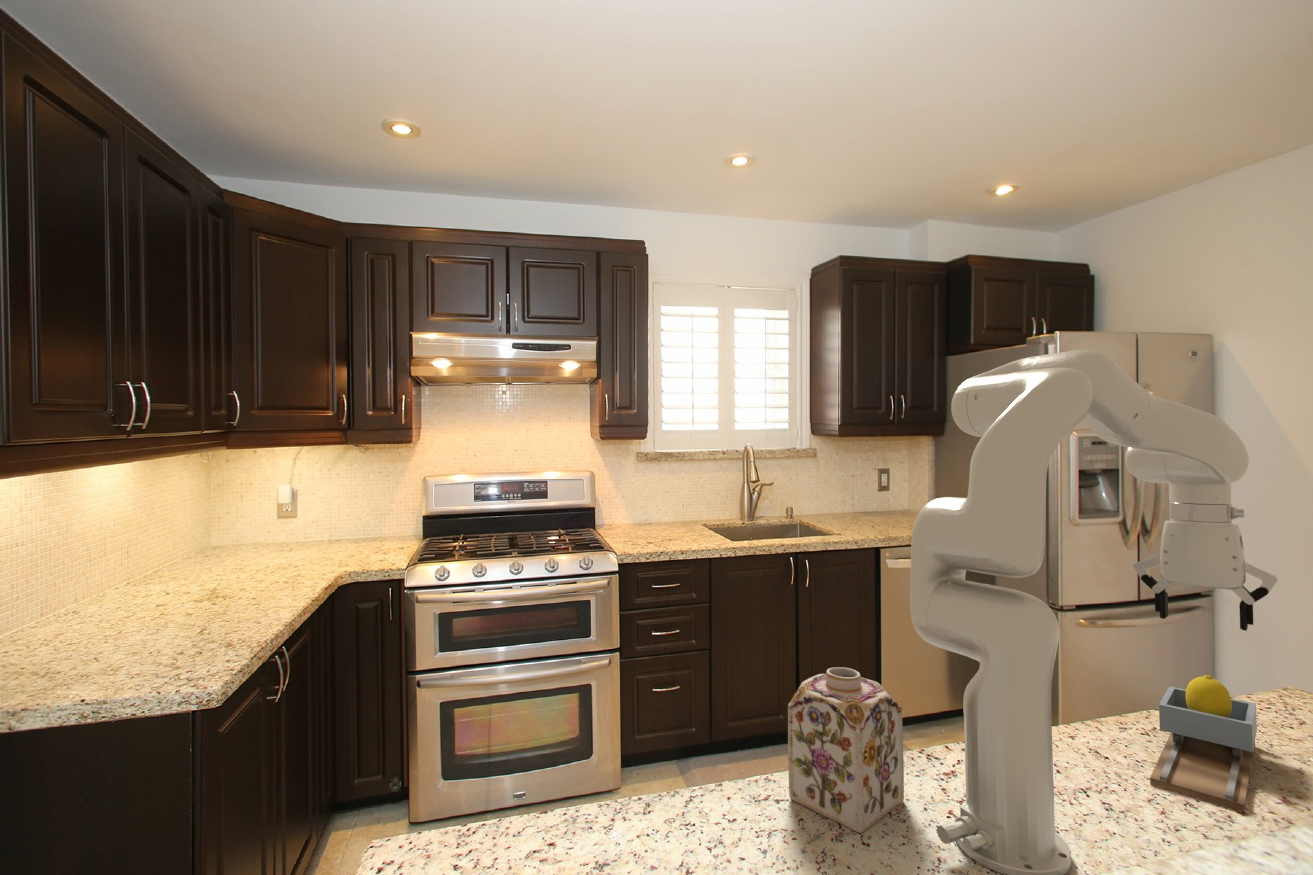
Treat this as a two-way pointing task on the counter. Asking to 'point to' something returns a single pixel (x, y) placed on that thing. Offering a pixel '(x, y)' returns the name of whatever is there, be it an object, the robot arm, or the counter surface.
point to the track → (1204, 771)
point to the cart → (1209, 722)
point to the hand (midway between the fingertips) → (1202, 622)
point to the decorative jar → (845, 748)
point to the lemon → (1208, 696)
